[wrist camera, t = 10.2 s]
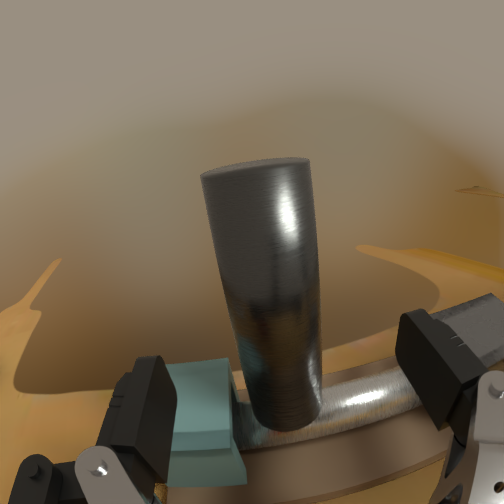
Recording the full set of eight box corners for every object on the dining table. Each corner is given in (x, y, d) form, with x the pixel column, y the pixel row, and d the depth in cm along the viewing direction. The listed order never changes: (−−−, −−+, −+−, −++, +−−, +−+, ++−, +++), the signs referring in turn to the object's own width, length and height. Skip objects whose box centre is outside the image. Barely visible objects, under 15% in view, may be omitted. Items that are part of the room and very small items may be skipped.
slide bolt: (444, 363, 19) (476, 146, 13) (469, 395, 15) (526, 157, 9) (187, 421, 19) (100, 192, 13) (183, 467, 15) (59, 216, 9)
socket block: (241, 405, 20) (227, 357, 18) (247, 484, 14) (230, 447, 12) (176, 411, 20) (153, 365, 18) (168, 486, 14) (134, 449, 12)
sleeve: (476, 340, 20) (490, 292, 18) (516, 384, 14) (539, 334, 12) (416, 365, 20) (427, 315, 18) (453, 421, 14) (477, 372, 12)
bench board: (469, 338, 22) (473, 326, 22) (526, 404, 13) (534, 392, 13) (183, 407, 22) (178, 396, 22) (174, 514, 13) (166, 507, 12)
